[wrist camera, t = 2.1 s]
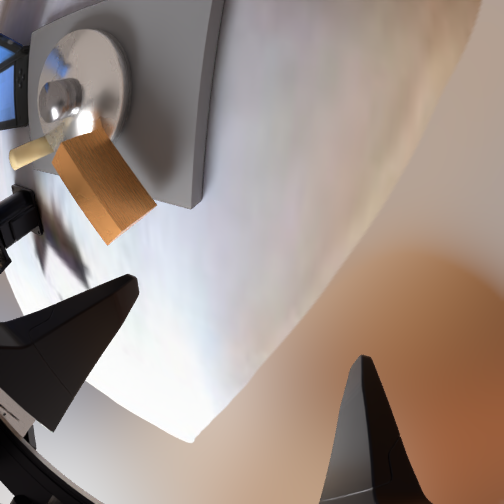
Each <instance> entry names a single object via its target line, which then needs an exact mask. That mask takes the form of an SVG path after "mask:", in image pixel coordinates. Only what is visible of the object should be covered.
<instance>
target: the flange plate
mask: <svg viewBox="0 0 504 504" xmlns="http://www.w3.org/2000/svg"><path fill="white" fill-rule="evenodd" d="M131 92H132V81H131V71H130V66H129V62H128V59H127V55H126V53H125V51H124V49H123V47H122V45H121V44H120V42H119V41H118V40H117V39H116V38H115V37H114V36H113V35H111V34H110V33H108V32H106V31H103V30H98V29H81V30H76V31H73V32H71V33H69V34H67V35H66V36H64V37H63V38H62V39H61V40H60V41H59V42H58V43H57V44H56V45H55V46H54V48H53V49H52V50H51V52H50V54H49V55H48V57H47V59H46V61H45V64H44V66H43V69H42V72H41V76H40V80H39V86H38V100H37V102H38V114H39V119H40V124H41V127H42V130H43V133H44V135H45V137H46V139H47V141H48V143H49V145H50V146H51V148H52V149H53V150H54V151H55V152H56V154H55V156H54V158H53V160H52V164H53V166H54V168H55V169H56V171H57V173H58V174H59V176H60V177H61V179H62V181H63V182H64V184H65V185H66V187H67V188H68V190H69V192H70V193H71V195H72V196H73V198H74V199H75V201H76V202H77V204H78V205H79V207H80V208H81V210H82V211H83V212H84V214H85V215H86V217H87V218H88V220H89V221H90V222H91V224H92V225H93V227H94V228H95V229H96V231H97V232H98V233H99V235H100V236H101V238H102V239H103V240H104V242H105V243H106V244H107V245H109V244H110V243H111V242H113V241H114V240H115V239H116V238H118V237H119V236H120V235H121V234H123V233H124V232H125V231H127V230H128V229H129V228H130V227H132V226H133V225H134V224H136V223H137V222H138V221H140V220H141V219H142V218H143V217H144V216H145V215H147V214H148V213H149V212H150V211H151V210H152V209H153V208H155V207H156V206H157V204H156V203H155V202H154V200H153V199H152V198H151V196H150V195H149V193H148V192H147V191H146V189H145V188H144V187H143V185H142V184H141V182H140V181H139V180H138V178H137V177H136V176H135V174H134V173H133V171H132V170H131V169H130V167H129V166H128V164H127V163H126V161H125V160H124V159H123V157H122V156H121V154H120V153H119V151H118V150H117V149H116V147H115V146H114V143H115V142H116V140H117V139H118V138H119V136H120V134H121V132H122V130H123V128H124V125H125V122H126V120H127V116H128V113H129V108H130V102H131Z"/></svg>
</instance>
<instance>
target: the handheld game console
mask: <svg viewBox="0 0 504 504" xmlns="http://www.w3.org/2000/svg"><path fill="white" fill-rule="evenodd" d="M22 46H23V45H22V44H20V43H18V42H16V41H14V40H12V39H10V38H8V37H6V36H5V35H3V34H1V33H0V130H5V129H11V128H17V127H23V126H27V125H29V116H28V69H29V53H30V45H29V46H25V47H22Z"/></svg>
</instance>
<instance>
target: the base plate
mask: <svg viewBox="0 0 504 504" xmlns="http://www.w3.org/2000/svg"><path fill="white" fill-rule="evenodd" d="M223 6H224V0H106V1H103V2H100V3H97V4H94V5H91V6H89V7H86V8H83V9H81V10H78V11H76V12H74V13H71V14H69V15H67V16H64V17H62V18H60V19H58V20H55V21H53V22H51V23H49V24H47V25H45V26H43V27H41V28H39V29H37V30H36V31H34V32H32V34H31V43H30V53H29V69H28V116H29V131H30V142H28V143H26V144H24V145H21V146H19V147H17V148H15V149H12V150H11V151H10V153H9V159H10V163H11V166H12V168H13V169H14V170H17V169H19V168H21V167H23V166H25V165H27V164H29V163H31V162H33V167H34V170H38V171H42V172H47V173H51V174H55V175H59V174H58V173H57V171H56V169H55V168H54V166H53V164H52V160H53V158H54V156H55V154H56V152H55V151H54V150H53V149H52V148H51V146H50V145H49V143H48V141H47V139H46V137H45V135H44V133H43V130H42V127H41V124H40V119H39V114H38V102H37V100H38V86H39V80H40V76H41V72H42V69H43V66H44V64H45V61H46V59H47V57H48V55H49V54H50V52H51V50H52V49H53V48H54V46H55V45H56V44H57V43H58V42H59V41H60V40H61V39H62V38H63V37H64V36H66V35H67V34H69V33H71V32H73V31H76V30H81V29H98V30H103V31H106V32H108V33H110V34H111V35H113V36H114V37H115V38H116V39H117V40H118V41H119V42H120V44H121V45H122V47H123V49H124V51H125V53H126V55H127V59H128V62H129V66H130V71H131V81H132V92H131V102H130V108H129V113H128V116H127V120H126V122H125V125H124V128H123V130H122V132H121V134H120V136H119V138H118V139H117V140H116V142H115V143H114V146H115V147H116V149H117V150H118V151H119V153H120V154H121V156H122V157H123V159H124V160H125V161H126V163H127V164H128V166H129V167H130V169H131V170H132V171H133V173H134V174H135V176H136V177H137V178H138V180H139V181H140V182H141V184H142V185H143V187H144V188H145V189H146V191H147V192H148V193H149V195H150V196H151V198H152V199H154V200H158V201H161V202H165V203H169V204H173V205H176V206H180V207H184V208H187V209H192V208H193V207H195V206H196V205H197V204H198V203H199V202H201V199H202V184H203V170H204V157H205V145H206V134H207V124H208V114H209V105H210V96H211V87H212V79H213V71H214V64H215V56H216V49H217V43H218V36H219V30H220V24H221V17H222V12H223Z"/></svg>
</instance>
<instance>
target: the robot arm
mask: <svg viewBox="0 0 504 504" xmlns="http://www.w3.org/2000/svg"><path fill="white" fill-rule="evenodd" d="M12 192H13V194H12V195H11V196H9V197H7V198H6V199H4V200H3V201H1V202H0V274H1V273H2V272H3V271H4V270H5V268H6V267H7V266H8V265H9V264H10V263H11V262H12V261H11V259H10V258H9V256H8V254H7V251H6V249H7V248H8V247H10V246H11V245H12V244H14V243H15V242H16V241H18V240H20V239H21V238H22V237H24V236H25V235H26V234H28V233H29V232H31V231H32V232H34V233H35V234H37V235H39V236H41V235H43V231H42V227H41V223H40V219H39V215H38V211H37V207H36V202H35V197H34V193H33V191H32V190H29V189H27V188H24V187H21V186H18V185H15V184H14V185H12ZM138 295H139V287H138V281H137V278H136V277H135V276H133V275H130V274H126V275H123V276H121V277H118V278H116V279H113V280H111V281H109V282H106V283H104V284H101V285H99V286H96V287H94V288H92V289H89V290H87V291H84V292H82V293H80V294H77V295H75V296H73V297H70V298H68V299H66V300H63V301H61V302H59V303H56V304H54V305H52V306H49V307H47V308H44V309H42V310H40V311H37V312H34V313H31V314H28V315H25V316H23V317H20V318H17V319H14V320H11V321H7V322H0V481H1V482H2V483H3V484H4V485H5V486H6V487H7V488H8V489H9V491H10V492H11V493H12V494H13V495H14V496H15V497H14V498H13V500H12V501H11V503H10V504H103V503H102V502H100V501H99V500H97V499H96V498H94V497H93V496H91V495H90V494H88V493H87V492H85V491H84V490H83V489H81V488H80V487H79V486H77V485H76V484H75V483H73V482H72V481H71V480H69V479H68V478H67V477H65V476H64V475H63V474H62V473H61V472H59V471H58V470H57V469H56V468H55V467H53V466H52V465H51V464H50V463H49V462H48V461H47V460H45V459H44V458H43V457H42V456H41V455H40V454H39V453H38V452H37V451H36V442H35V436H34V428H33V423H34V421H35V420H37V421H38V422H39V423H41V424H42V425H43V426H44V427H46V428H47V429H48V430H50V431H51V432H52V433H53V432H54V431H55V429H56V427H57V425H58V424H59V422H60V420H61V419H62V417H63V416H64V414H65V412H66V410H67V409H68V407H69V405H70V404H71V402H72V401H73V399H74V397H75V396H76V394H77V392H78V391H79V389H80V388H81V386H82V384H83V383H84V381H85V380H86V378H87V377H88V375H89V373H90V372H91V370H92V369H93V367H94V366H95V364H96V363H97V361H98V360H99V358H100V357H101V355H102V354H103V352H104V351H105V349H106V348H107V346H108V345H109V343H110V342H111V340H112V339H113V338H114V336H115V335H116V333H117V332H118V330H119V329H120V327H121V326H122V324H123V323H124V321H125V319H126V317H127V315H128V314H129V312H130V310H131V308H132V306H133V305H134V303H135V301H136V299H137V298H138ZM399 436H400V433H399V430H398V427H397V424H396V422H395V419H394V416H393V413H392V410H391V408H390V405H389V402H388V399H387V397H386V394H385V391H384V389H383V386H382V383H381V381H380V378H379V376H378V373H377V371H376V368H375V365H374V363H373V360H372V359H371V357H369V356H365V355H360V356H359V357H358V359H357V360H356V361H355V363H354V364H353V365H352V367H351V369H350V372H349V376H348V380H347V384H346V388H345V391H344V395H343V399H342V402H341V406H340V411H339V418H338V422H337V428H336V434H335V439H334V444H333V449H332V454H331V458H330V462H329V467H328V471H327V475H326V479H325V483H324V487H323V491H322V495H321V498H320V502H319V504H432V503H431V502H430V501H429V500H428V499H427V498H426V497H425V495H424V493H423V492H422V489H421V487H420V485H419V482H418V480H417V478H416V475H415V474H414V471H413V468H412V466H411V464H410V461H409V459H408V456H407V454H406V451H405V448H404V445H403V442H402V439H401V437H399Z"/></svg>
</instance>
